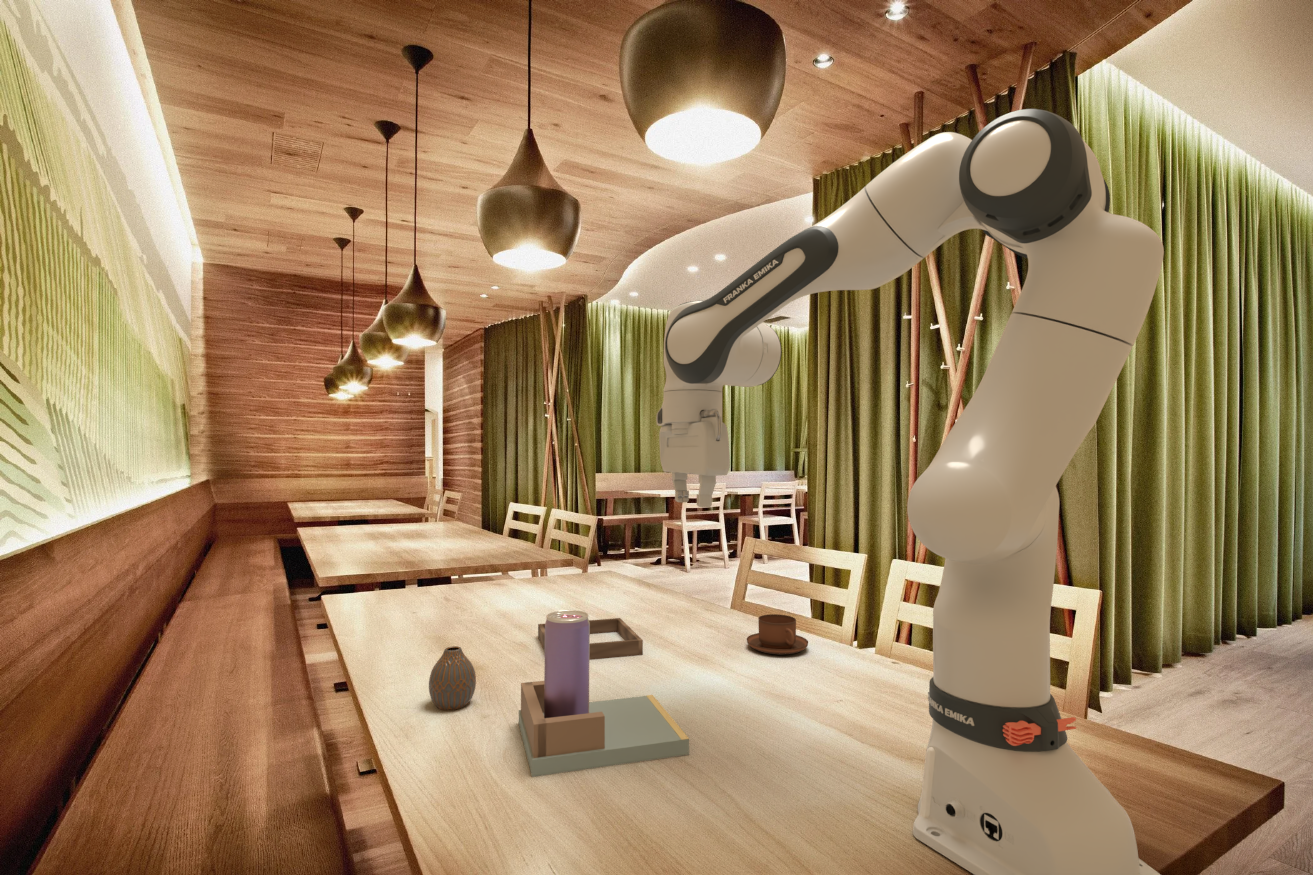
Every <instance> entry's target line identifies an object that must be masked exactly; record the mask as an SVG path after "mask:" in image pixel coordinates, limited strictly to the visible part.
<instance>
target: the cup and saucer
mask: <svg viewBox="0 0 1313 875" xmlns="http://www.w3.org/2000/svg"><path fill="white" fill-rule="evenodd" d="M746 642H747V644H748V645H749V646H750V648H752V649H754V650H755V651H758V652H761V653H764V654H770V655H771V654H772V655H792V654H797V653H799V652H803V651H804V650H805V649H806V648H808V645H809V640H808V639H806V638H805V637H803V636H801V635H797V619H796V618H795V617H793V616H791V615H786V614H774V613H770V614H764V615H760V616H759V617H758V632H757V633H753V634H750V635H748V636H747V638H746Z"/></svg>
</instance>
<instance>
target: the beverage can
mask: <svg viewBox="0 0 1313 875" xmlns="http://www.w3.org/2000/svg"><path fill="white" fill-rule="evenodd" d="M545 619H546V620H545V623H544V624H545V651H544V669H543V670H544V672H543V673H544V677H543V679H544V680H543V681H544V718H552V717H561V716H569V715H578V714H586V713H589V702H590V660H589V653H590V638H591V637H590V635H591V634H590V622H589V613H587V612H585V611H583V610H577V609H576V610H575V609H574V610H573V609H572V610H571V609H567V610H556V611H551V612H549V613H547V614H546V618H545Z"/></svg>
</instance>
